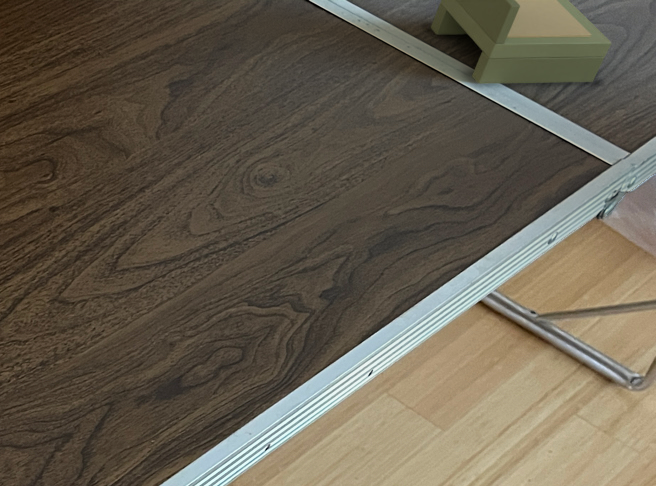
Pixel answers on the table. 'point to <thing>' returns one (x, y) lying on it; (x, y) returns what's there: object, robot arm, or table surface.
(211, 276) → the table surface
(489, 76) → the green square tray
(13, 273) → the table surface
